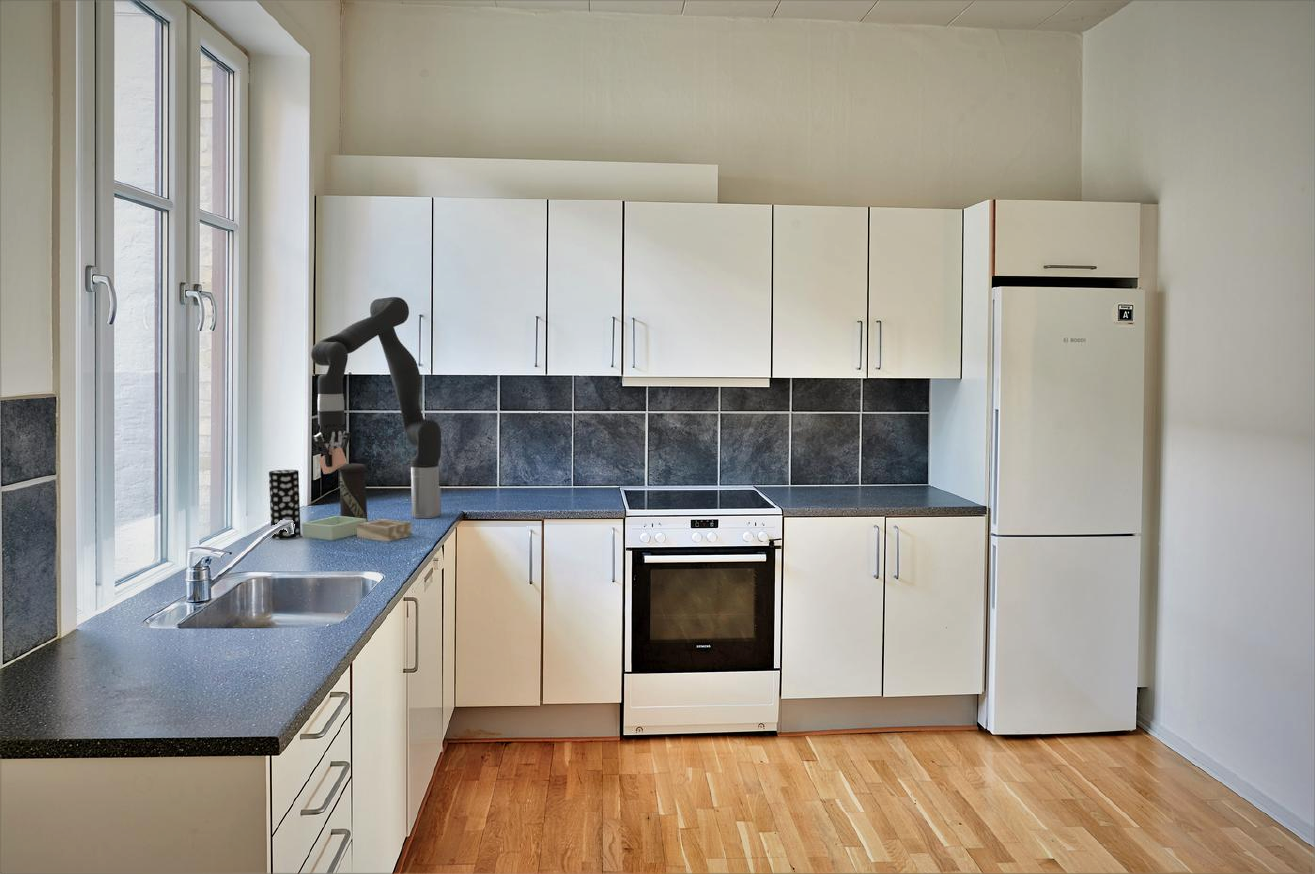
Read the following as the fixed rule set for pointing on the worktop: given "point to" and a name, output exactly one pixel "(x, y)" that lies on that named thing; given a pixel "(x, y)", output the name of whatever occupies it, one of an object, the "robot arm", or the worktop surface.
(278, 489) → the spotted tube
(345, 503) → the container
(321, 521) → the bin
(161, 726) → the worktop surface
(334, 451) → the salmon orange block
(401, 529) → the brown hollow flat block
